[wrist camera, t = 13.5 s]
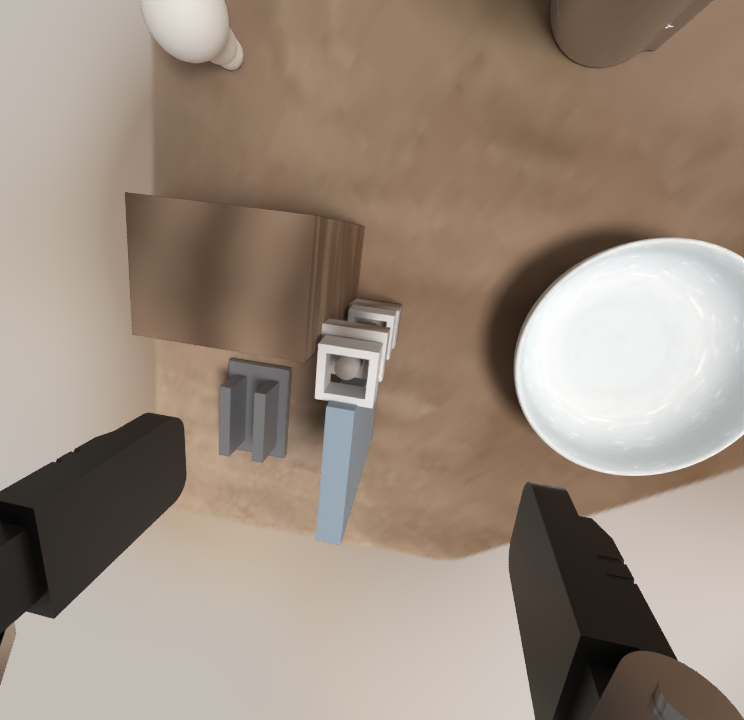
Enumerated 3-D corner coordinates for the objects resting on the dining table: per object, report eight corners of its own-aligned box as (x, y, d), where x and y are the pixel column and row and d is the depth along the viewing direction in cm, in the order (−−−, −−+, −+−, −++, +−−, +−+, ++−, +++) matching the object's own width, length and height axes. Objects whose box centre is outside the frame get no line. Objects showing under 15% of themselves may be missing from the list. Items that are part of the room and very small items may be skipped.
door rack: (292, 367, 46) (275, 382, 42) (286, 454, 50) (270, 476, 45) (233, 358, 47) (210, 371, 42) (231, 443, 50) (210, 464, 45)
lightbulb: (231, 2, 37) (152, -91, 27) (278, 56, 38) (220, -14, 28) (191, 59, 39) (103, -8, 29) (237, 110, 40) (167, 63, 29)
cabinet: (412, 232, 41) (396, 225, 23) (397, 339, 44) (373, 401, 27) (250, 212, 42) (124, 192, 25) (247, 316, 45) (133, 361, 28)
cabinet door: (399, 303, 41) (377, 357, 26) (381, 441, 47) (354, 548, 32) (358, 298, 42) (314, 348, 27) (345, 434, 48) (302, 537, 33)
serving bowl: (491, 261, 40) (502, 265, 34) (734, 217, 36) (800, 211, 30) (513, 451, 45) (526, 487, 39) (728, 431, 41) (783, 466, 35)
